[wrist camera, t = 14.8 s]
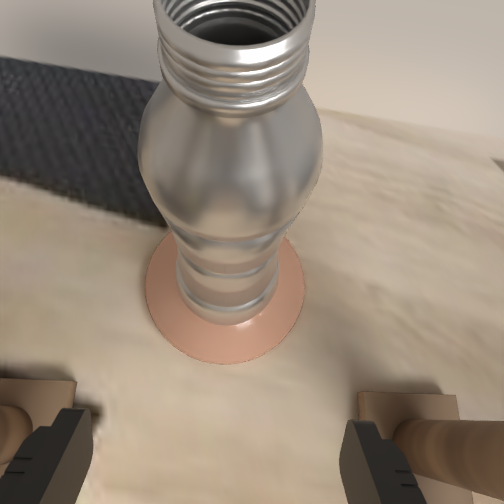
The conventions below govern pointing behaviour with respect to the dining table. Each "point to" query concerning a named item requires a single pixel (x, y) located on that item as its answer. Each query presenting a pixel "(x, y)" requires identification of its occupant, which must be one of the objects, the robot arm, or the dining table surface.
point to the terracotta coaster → (216, 336)
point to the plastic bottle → (230, 145)
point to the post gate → (370, 408)
